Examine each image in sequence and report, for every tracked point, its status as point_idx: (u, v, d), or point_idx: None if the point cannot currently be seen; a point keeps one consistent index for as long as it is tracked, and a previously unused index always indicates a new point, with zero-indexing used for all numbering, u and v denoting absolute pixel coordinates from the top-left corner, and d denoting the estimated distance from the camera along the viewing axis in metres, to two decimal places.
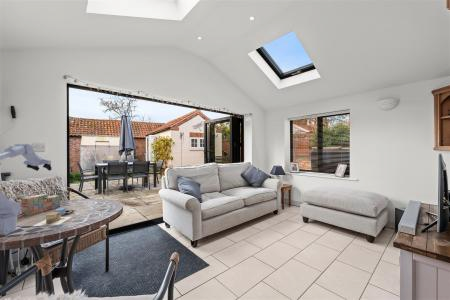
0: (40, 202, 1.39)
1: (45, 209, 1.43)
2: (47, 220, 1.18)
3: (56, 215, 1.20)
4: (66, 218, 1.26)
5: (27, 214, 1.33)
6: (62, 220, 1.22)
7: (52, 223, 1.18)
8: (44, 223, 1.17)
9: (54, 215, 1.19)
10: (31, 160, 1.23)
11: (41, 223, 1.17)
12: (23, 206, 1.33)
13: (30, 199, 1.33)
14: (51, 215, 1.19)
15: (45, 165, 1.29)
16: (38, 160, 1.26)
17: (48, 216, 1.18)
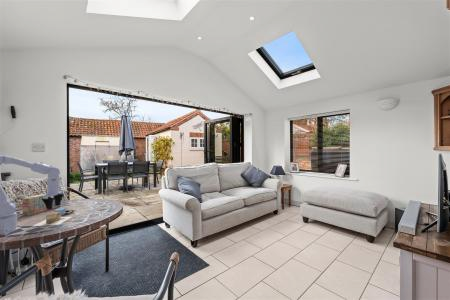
0: (41, 202, 1.40)
1: (46, 209, 1.43)
2: (47, 220, 1.18)
3: (56, 215, 1.20)
4: (66, 218, 1.26)
5: (28, 214, 1.33)
6: (62, 220, 1.22)
7: (52, 223, 1.18)
8: (44, 223, 1.17)
9: (54, 215, 1.19)
10: (47, 186, 1.19)
11: (41, 223, 1.17)
12: (24, 206, 1.33)
13: (31, 199, 1.34)
14: (51, 215, 1.19)
15: None
16: (49, 190, 1.18)
17: (48, 216, 1.18)
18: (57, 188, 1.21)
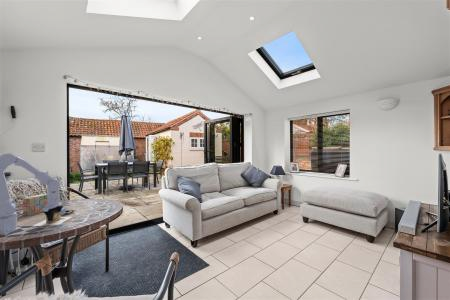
0: (41, 202, 1.40)
1: None
2: (47, 220, 1.18)
3: (56, 215, 1.20)
4: (66, 218, 1.26)
5: (29, 214, 1.33)
6: (62, 220, 1.22)
7: (52, 223, 1.18)
8: (44, 223, 1.17)
9: (54, 215, 1.19)
10: (47, 198, 1.19)
11: (41, 223, 1.17)
12: (24, 206, 1.33)
13: (32, 199, 1.34)
14: None
15: None
16: (49, 202, 1.18)
17: None
18: (57, 200, 1.21)
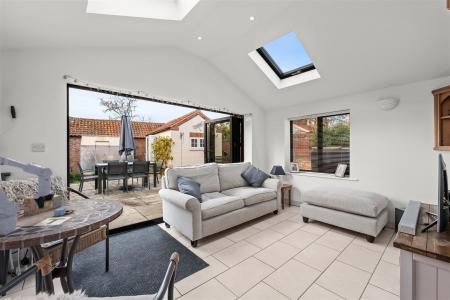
0: None
1: None
2: None
3: (47, 203, 1.22)
4: (66, 218, 1.26)
5: (29, 214, 1.33)
6: (62, 220, 1.22)
7: (52, 223, 1.18)
8: (44, 223, 1.17)
9: (45, 203, 1.21)
10: (40, 186, 1.21)
11: (41, 223, 1.17)
12: (25, 206, 1.34)
13: (32, 199, 1.34)
14: None
15: None
16: (39, 190, 1.21)
17: None
18: (48, 188, 1.23)
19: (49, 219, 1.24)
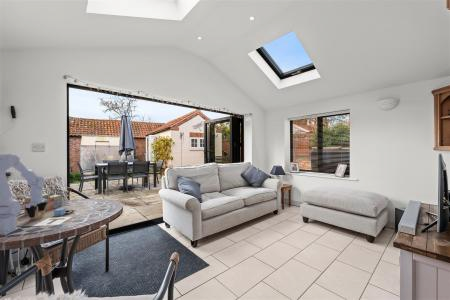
0: None
1: (48, 208, 1.44)
2: (31, 219, 1.23)
3: (40, 214, 1.24)
4: (66, 218, 1.26)
5: None
6: (62, 220, 1.22)
7: (52, 223, 1.18)
8: (44, 223, 1.17)
9: (37, 214, 1.23)
10: (34, 195, 1.23)
11: (41, 223, 1.17)
12: None
13: None
14: None
15: None
16: (31, 199, 1.23)
17: None
18: (40, 197, 1.25)
19: (49, 219, 1.24)
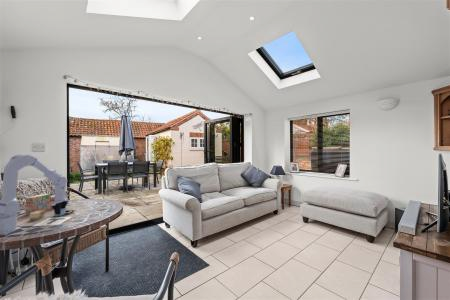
0: (44, 202, 1.41)
1: (48, 208, 1.45)
2: (31, 219, 1.23)
3: (39, 214, 1.24)
4: (66, 218, 1.26)
5: None
6: (62, 220, 1.22)
7: (52, 223, 1.18)
8: (44, 223, 1.17)
9: (37, 214, 1.23)
10: (56, 194, 1.30)
11: (41, 223, 1.17)
12: (27, 205, 1.35)
13: (35, 198, 1.35)
14: (34, 214, 1.23)
15: None
16: (56, 197, 1.30)
17: (32, 215, 1.23)
18: (63, 196, 1.33)
19: (49, 219, 1.24)
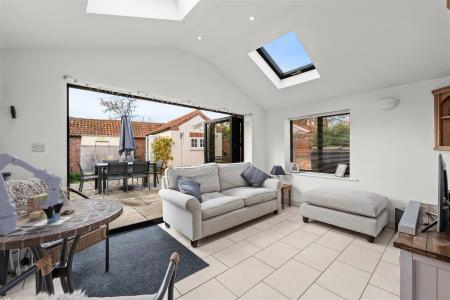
0: (45, 201, 1.42)
1: None
2: (31, 219, 1.23)
3: (40, 214, 1.24)
4: (66, 218, 1.26)
5: None
6: (62, 220, 1.22)
7: (52, 223, 1.18)
8: (44, 223, 1.17)
9: (37, 214, 1.23)
10: (47, 195, 1.19)
11: (41, 223, 1.17)
12: (29, 205, 1.35)
13: (36, 198, 1.36)
14: (34, 214, 1.23)
15: None
16: (49, 199, 1.18)
17: (32, 215, 1.23)
18: (57, 197, 1.21)
19: None
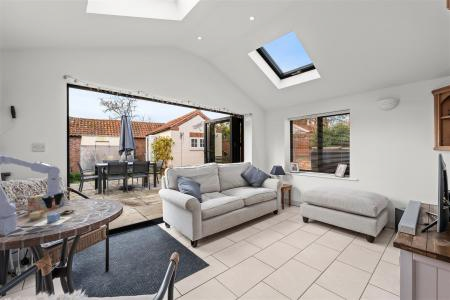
0: None
1: (50, 208, 1.46)
2: (31, 219, 1.23)
3: (39, 214, 1.24)
4: (66, 218, 1.26)
5: None
6: (62, 220, 1.22)
7: (52, 223, 1.18)
8: (44, 223, 1.17)
9: (37, 214, 1.23)
10: (47, 185, 1.19)
11: (41, 223, 1.17)
12: (30, 205, 1.36)
13: (37, 198, 1.37)
14: (34, 214, 1.23)
15: None
16: (49, 189, 1.18)
17: (32, 215, 1.23)
18: (57, 187, 1.21)
19: None
